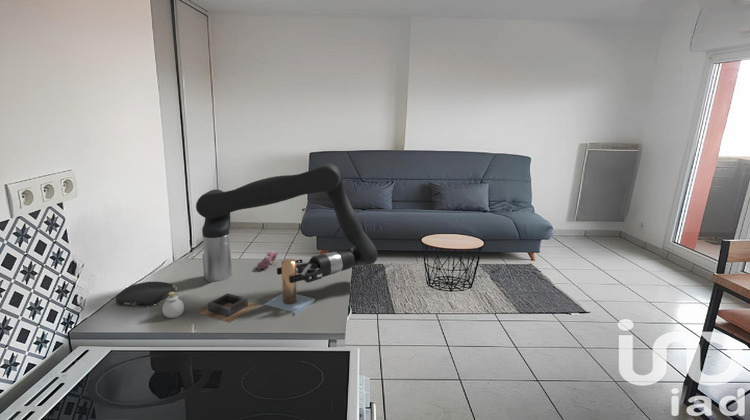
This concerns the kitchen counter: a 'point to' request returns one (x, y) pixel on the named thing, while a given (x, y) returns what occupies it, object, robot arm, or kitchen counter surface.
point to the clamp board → (228, 307)
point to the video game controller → (267, 260)
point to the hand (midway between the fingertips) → (283, 275)
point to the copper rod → (288, 287)
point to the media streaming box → (144, 294)
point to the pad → (295, 307)
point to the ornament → (173, 306)
